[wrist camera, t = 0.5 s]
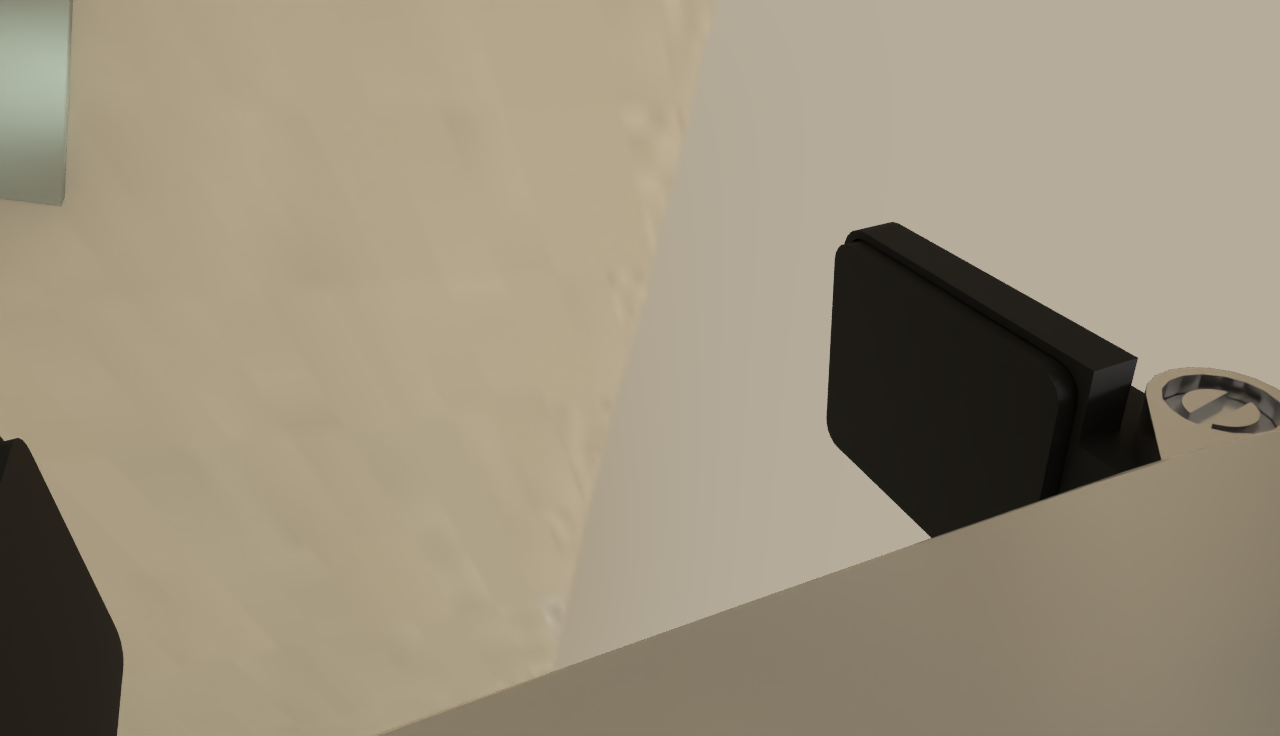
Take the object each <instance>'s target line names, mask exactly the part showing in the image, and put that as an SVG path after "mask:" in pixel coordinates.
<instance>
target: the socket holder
mask: <svg viewBox="0 0 1280 736" xmlns="http://www.w3.org/2000/svg"><path fill="white" fill-rule="evenodd" d="M72 3H73V0H0V198H2V199H9V200H17V201H24V202H32V203H40V204H47V205H55V206H61V205H62V202H63V200H64V195H65V171H66V147H67V123H68V99H69V75H70V51H71V27H72Z"/></svg>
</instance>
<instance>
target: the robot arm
mask: <svg viewBox="0 0 1280 736" xmlns="http://www.w3.org/2000/svg"><path fill="white" fill-rule="evenodd" d="M834 268H835V269H834V286H833V307H832V325H831V344H830V364H829V382H828V402H827V426H828V431H829V433H830V436H831V438H832V440H833V442H834V443H835V444H836V446H837V447H838V448H839V449H840V450H841V451H842V452H843V453H844V454H845V455H846V456H848V458H849V459H851V460H852V461H853V462H854V463H855V464H856V465H857V466H858V467H859V468H860V469H861V470H862V471H863V472H864V473H865V474H866V475H867V476H868V477H869V478H870V479H871V480H872V481H873V482H874V483H876V484H877V485H878V486H879V488H881V489H882V490H883V491H884V492H885V493H886V494H887V495H888V496H889V497H890V498H891V499H892V500H893V501H894V502H895V503H896V504H897V505H898V506H899V507H900V508H901V509H902V510H903V511H904V512H905V513H906V514H907V515H908V516H910V517H911V518H912V519H913V520H914V521H915V522H916V523H917V524H918V525H919V526H920V527H921V528H922V529H923V530H924V531H925V532H926V533H927V534H928V535H929V536H930V537H931V539H928V540H925V541H922V542H919V543H917V544H914V545H911V546H908V547H905V548H902V549H900V550H897V551H894V552H891V553H888V554H885V555H882V556H880V557H877V558H874V559H871V560H868V561H865V562H862V563H860V564H857V565H854V566H851V567H848V568H845V569H843V570H840V571H837V572H834V573H831V574H828V575H825V576H823V577H820V578H817V579H814V580H811V581H808V582H805V583H803V584H800V585H797V586H794V587H791V588H788V589H786V590H783V591H780V592H777V593H774V594H771V595H768V596H766V597H763V598H760V599H757V600H754V601H751V602H748V603H746V604H743V605H740V606H737V607H735V608H731V609H729V610H726V611H723V612H720V613H717V614H715V615H712V616H709V617H706V618H703V619H700V620H698V621H695V622H692V623H689V624H687V625H684V626H681V627H678V628H675V629H672V630H669V631H667V632H664V633H661V634H658V635H656V636H653V637H650V638H647V639H644V640H641V641H638V642H636V643H633V644H630V645H627V646H624V647H622V648H619V649H616V650H613V651H610V652H607V653H604V654H601V655H599V656H596V657H593V658H590V659H587V660H584V661H582V662H579V663H576V664H573V665H570V666H567V667H565V668H562V669H559V670H556V671H553V672H550V673H548V674H545V675H542V676H539V677H536V678H533V679H531V680H528V681H525V682H522V683H519V684H516V685H514V686H511V687H508V688H505V689H502V690H499V691H496V692H494V693H491V694H488V695H485V696H482V697H479V698H477V699H474V700H471V701H468V702H466V703H463V704H460V705H457V706H454V707H452V708H449V709H446V710H443V711H440V712H438V713H435V714H432V715H429V716H426V717H424V718H421V719H418V720H415V721H412V722H410V723H407V724H404V725H401V726H398V727H396V728H393V729H390V730H387V731H384V732H382V733H379V734H376V735H373V736H1280V390H1278V389H1277V388H1275V387H1273V386H1270V385H1268V384H1266V383H1264V382H1262V381H1260V380H1258V379H1255V378H1252V377H1249V376H1245V375H1242V374H1239V373H1235V372H1231V371H1225V370H1219V369H1213V368H1195V367H1187V368H1179V369H1172V370H1168V371H1165V372H1163V373H1160V374H1158V375H1155V376H1154V377H1153V378H1152V380H1150V381H1149V382H1148V383H1147V386H1146V390H1145V393H1143V392H1141V391H1140V390H1138V389H1136V388H1135V387H1133V386H1131V383H1132V379H1133V375H1134V371H1135V367H1136V363H1137V359H1138V358H1137V357H1135V356H1133V355H1132V354H1130V353H1128V352H1126V351H1125V350H1123V349H1121V348H1119V347H1117V346H1116V345H1114V344H1112V343H1110V342H1109V341H1107V340H1105V339H1103V338H1101V337H1099V336H1098V335H1096V334H1094V333H1093V332H1091V331H1089V330H1087V329H1085V328H1084V327H1082V326H1080V325H1078V324H1076V323H1075V322H1073V321H1071V320H1069V319H1067V318H1066V317H1064V316H1062V315H1060V314H1058V313H1056V312H1055V311H1053V310H1052V309H1050V308H1048V307H1046V306H1044V305H1042V304H1041V303H1039V302H1037V301H1035V300H1034V299H1032V298H1030V297H1028V296H1027V295H1025V294H1023V293H1021V292H1019V291H1018V290H1016V289H1014V288H1012V287H1011V286H1009V285H1006V284H1005V283H1003V282H1001V281H1000V280H998V279H996V278H995V277H993V276H991V275H989V274H987V273H986V272H984V271H982V270H980V269H978V268H977V267H975V266H973V265H971V264H969V263H968V262H966V261H964V260H962V259H961V258H959V257H957V256H955V255H953V254H952V253H950V252H948V251H946V250H945V249H943V248H941V247H939V246H937V245H936V244H934V243H932V242H930V241H929V240H927V239H925V238H923V237H921V236H919V235H918V234H916V233H914V232H912V231H910V230H909V229H907V228H905V227H903V226H902V225H900V224H898V223H894V222H891V223H886V224H882V225H877V226H873V227H869V228H864V229H860V230H856V231H852V232H851V233H850V234H849V235H848V236H847V238H846V241H845V244H844V245H841V246H840V247H839V248H838V250H837V252H836V256H835V267H834ZM122 675H123V651H122V646H121V641H120V638H119V634H118V632H117V629H116V627H115V625H114V623H113V621H112V619H111V617H110V615H109V613H108V611H107V609H106V606H105V604H104V602H103V600H102V598H101V596H100V594H99V592H98V590H97V588H96V586H95V584H94V582H93V580H92V578H91V576H90V573H89V571H88V569H87V567H86V565H85V563H84V561H83V559H82V557H81V555H80V553H79V551H78V549H77V547H76V545H75V543H74V540H73V538H72V536H71V534H70V532H69V530H68V528H67V526H66V524H65V522H64V520H63V518H62V516H61V514H60V512H59V510H58V507H57V505H56V503H55V501H54V499H53V497H52V495H51V493H50V491H49V489H48V487H47V485H46V483H45V481H44V479H43V477H42V474H41V472H40V470H39V468H38V466H37V464H36V462H35V460H34V458H33V456H32V454H31V452H30V450H29V448H28V447H27V445H26V444H25V443H24V441H23V440H21V439H19V438H16V439H12V440H8V441H3V439H2V438H1V437H0V736H117V728H118V717H119V707H120V696H121V685H122Z"/></svg>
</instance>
